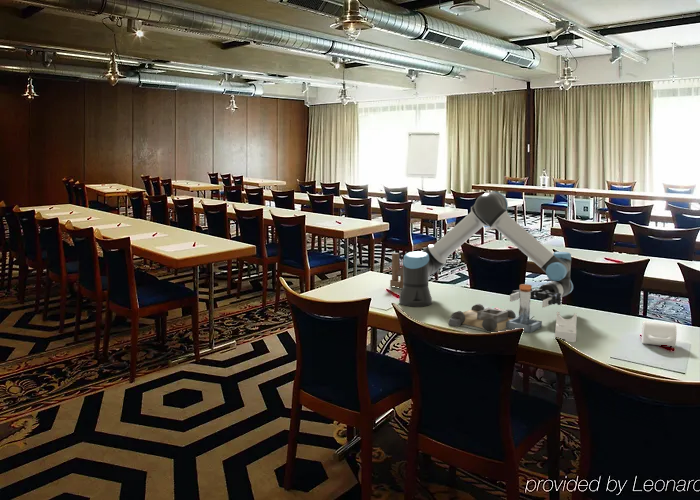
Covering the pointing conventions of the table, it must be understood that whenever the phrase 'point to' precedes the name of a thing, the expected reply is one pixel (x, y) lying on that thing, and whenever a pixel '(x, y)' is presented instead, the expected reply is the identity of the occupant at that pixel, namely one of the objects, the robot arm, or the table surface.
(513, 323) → the tray
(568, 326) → the bracket
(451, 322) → the chock
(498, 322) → the cart deck
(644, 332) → the white slotted housing
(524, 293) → the orange capped tube
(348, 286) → the table surface
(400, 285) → the tan notched upright
